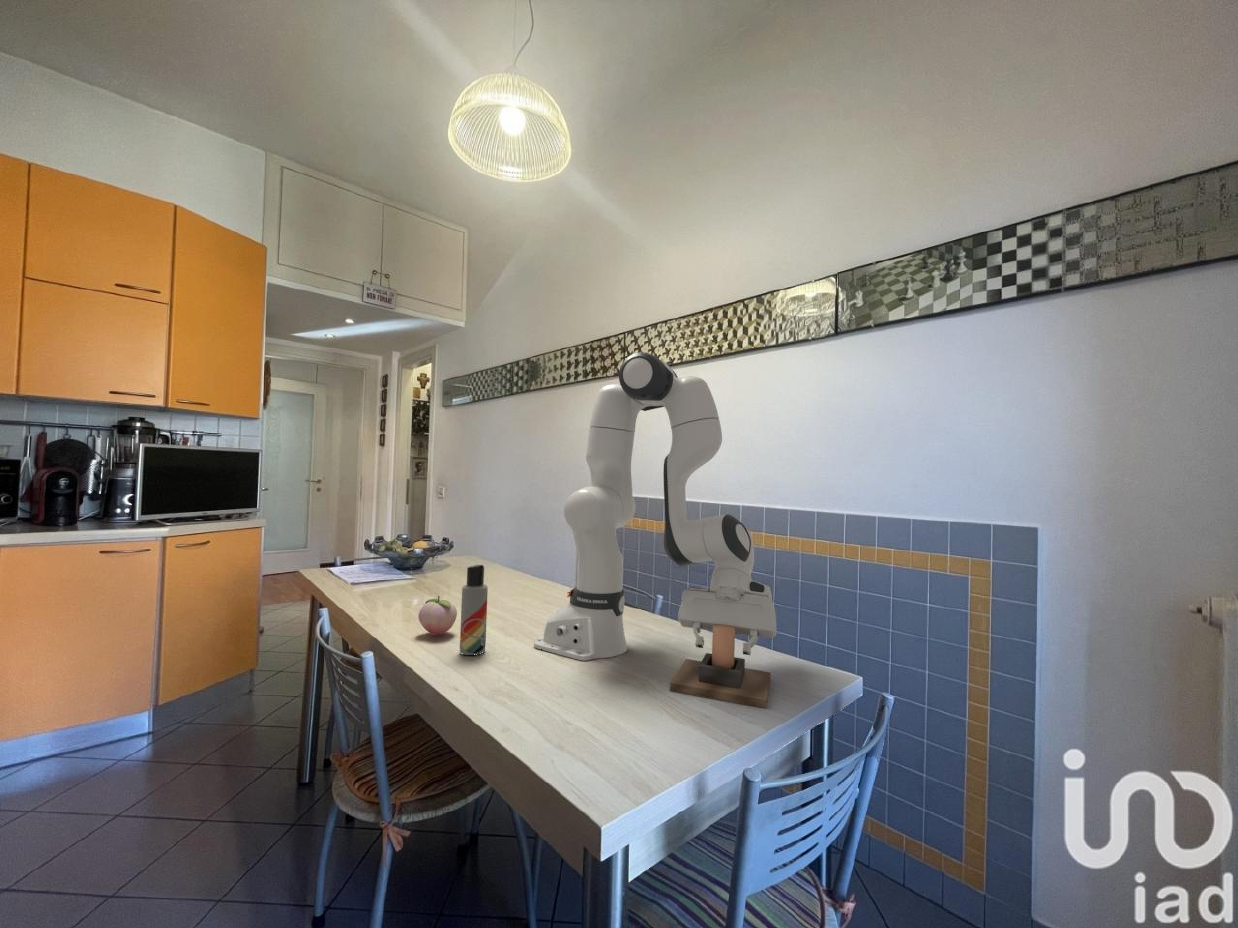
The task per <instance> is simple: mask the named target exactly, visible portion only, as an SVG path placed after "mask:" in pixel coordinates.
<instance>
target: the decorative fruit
mask: <svg viewBox="0 0 1238 928" xmlns="http://www.w3.org/2000/svg"><path fill="white" fill-rule="evenodd" d="M424 603H425V604H423V606H422V607H421V608H420V609H419V611H418V616H417V617H418V621H419V624H420V625H421V626H422V628H424V631H427V632H428V633H429V634H431V635H433V634H435V635H434V636H436V635H439V636H441V635H442V634H445V633H447V632H448V631H449V630H450V629H451V628H452V627H453V625H454V624H455V622H456V619H457V617H458V609H457V608H456V606H455V604H454V603H453V602H451V601H449V600H446V599H440V595H438V596H437V598H430V599H427V600H426V601H425V602H424ZM440 634H441V635H440Z"/></svg>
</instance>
